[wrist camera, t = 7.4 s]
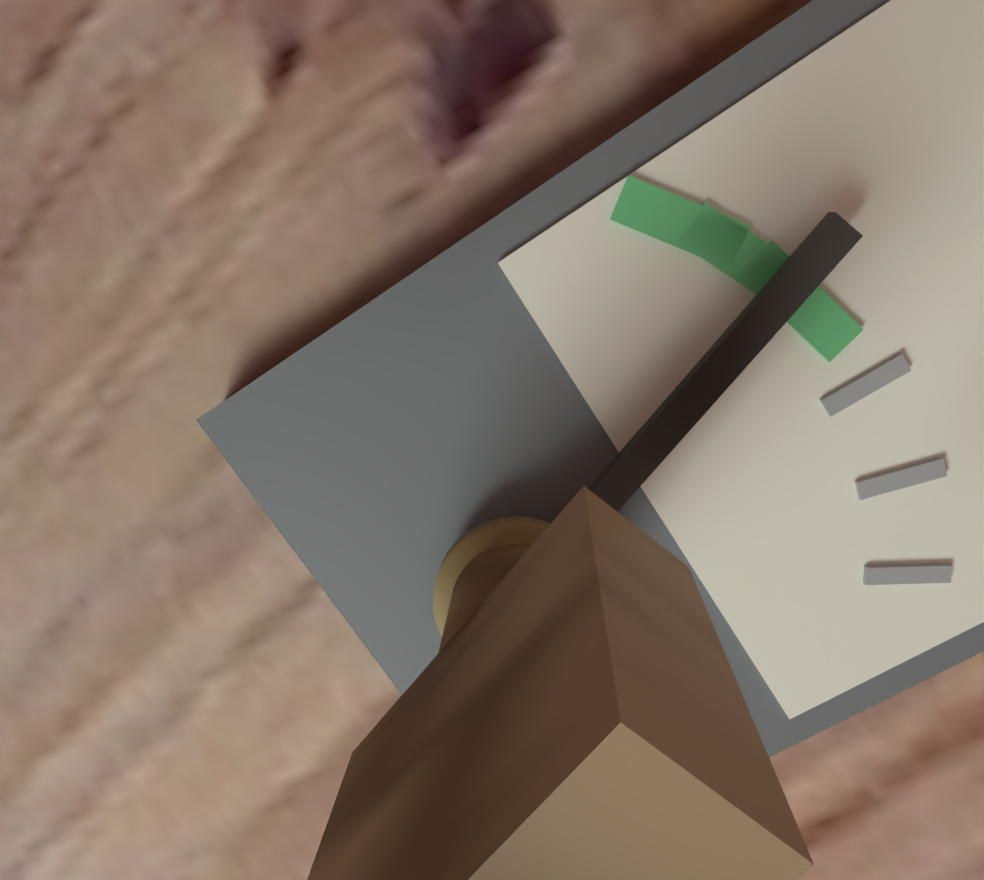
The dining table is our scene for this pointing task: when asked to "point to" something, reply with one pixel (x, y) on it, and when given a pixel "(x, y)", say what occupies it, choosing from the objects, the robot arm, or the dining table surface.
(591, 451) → the tuner board
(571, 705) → the wooden pointer lever
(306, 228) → the dining table surface
